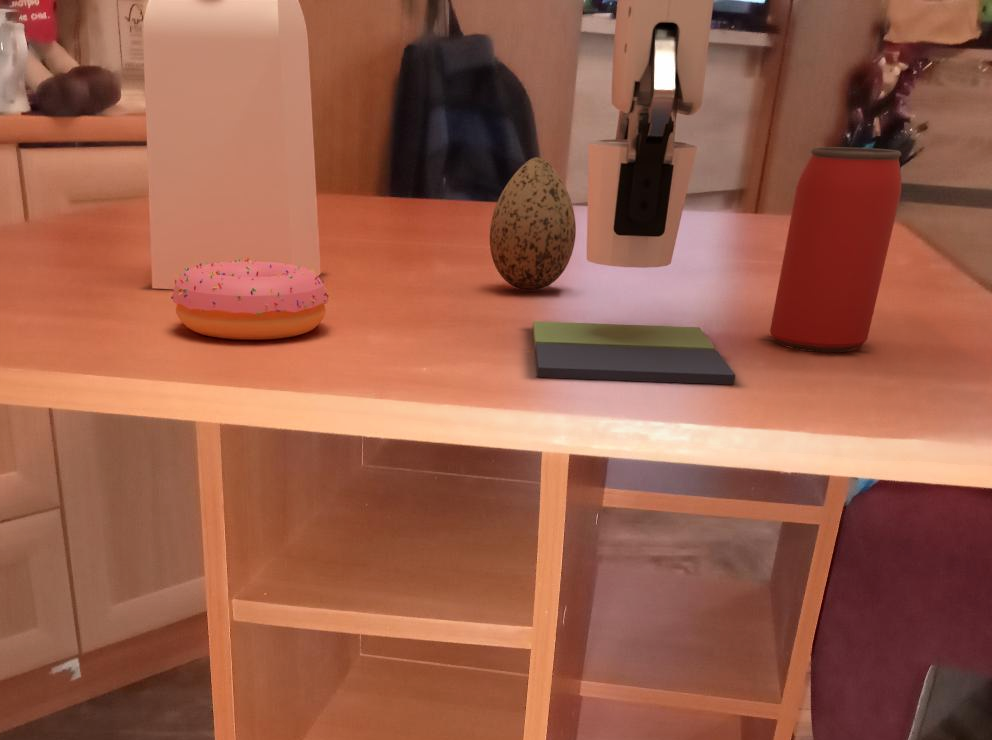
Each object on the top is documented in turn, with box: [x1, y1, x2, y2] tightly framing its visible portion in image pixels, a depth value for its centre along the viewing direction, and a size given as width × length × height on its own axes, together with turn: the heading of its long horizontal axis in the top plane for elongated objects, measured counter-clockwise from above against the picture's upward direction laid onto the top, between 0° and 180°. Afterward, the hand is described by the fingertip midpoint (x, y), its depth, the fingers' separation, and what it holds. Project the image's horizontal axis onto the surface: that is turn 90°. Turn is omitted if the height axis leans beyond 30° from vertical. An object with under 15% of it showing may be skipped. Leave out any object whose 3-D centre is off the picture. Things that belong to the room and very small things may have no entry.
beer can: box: [769, 146, 902, 353], centre depth 78 cm, size 7×7×12 cm
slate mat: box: [534, 344, 736, 385], centre depth 73 cm, size 12×7×1 cm, turn 85°
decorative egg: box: [489, 156, 577, 292], centre depth 96 cm, size 7×7×10 cm
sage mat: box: [532, 320, 716, 350], centre depth 80 cm, size 12×7×1 cm, turn 85°
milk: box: [142, 0, 322, 290], centre depth 93 cm, size 12×12×26 cm
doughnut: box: [170, 258, 330, 341], centre depth 81 cm, size 11×11×4 cm
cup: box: [586, 138, 698, 269], centre depth 76 cm, size 7×7×7 cm
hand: (632, 225), depth 76 cm, fingers closed on cup, 6 cm apart
